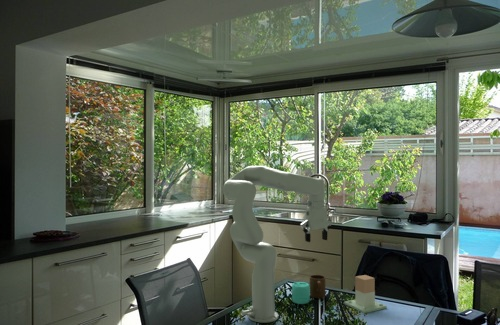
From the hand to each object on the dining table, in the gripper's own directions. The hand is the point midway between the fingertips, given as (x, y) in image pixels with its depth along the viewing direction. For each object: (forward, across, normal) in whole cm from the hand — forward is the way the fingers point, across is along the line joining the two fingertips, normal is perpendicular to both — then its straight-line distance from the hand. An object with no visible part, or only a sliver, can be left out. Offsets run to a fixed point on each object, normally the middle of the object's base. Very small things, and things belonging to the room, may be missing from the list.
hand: (316, 240), depth 189 cm
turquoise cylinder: (+29, -7, +3) cm, 30 cm away
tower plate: (+28, +15, -16) cm, 36 cm away
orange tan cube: (+21, +15, -16) cm, 31 cm away
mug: (+28, +3, +3) cm, 29 cm away
